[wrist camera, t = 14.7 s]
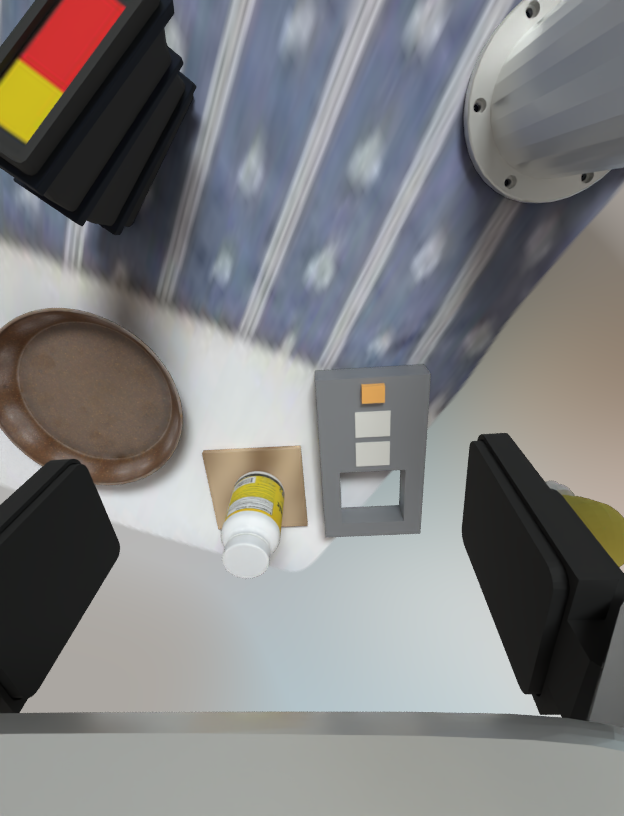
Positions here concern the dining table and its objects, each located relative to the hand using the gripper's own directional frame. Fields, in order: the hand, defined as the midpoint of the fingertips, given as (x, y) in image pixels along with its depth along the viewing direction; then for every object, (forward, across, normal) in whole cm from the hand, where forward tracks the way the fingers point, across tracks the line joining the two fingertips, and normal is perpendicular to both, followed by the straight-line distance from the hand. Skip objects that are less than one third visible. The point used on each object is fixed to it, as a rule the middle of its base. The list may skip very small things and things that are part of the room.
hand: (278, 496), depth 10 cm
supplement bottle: (+26, +8, +20) cm, 34 cm away
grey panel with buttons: (+27, -4, +16) cm, 32 cm away
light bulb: (+28, -23, +23) cm, 43 cm away
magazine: (+27, +11, -12) cm, 32 cm away
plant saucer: (+27, +22, +8) cm, 35 cm away
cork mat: (+27, +8, +20) cm, 34 cm away
